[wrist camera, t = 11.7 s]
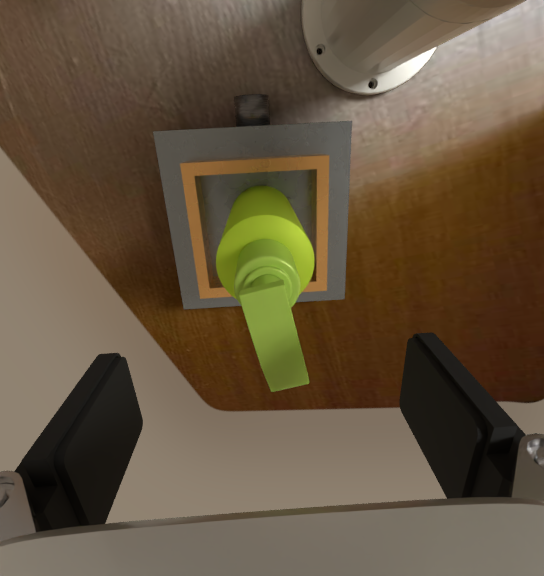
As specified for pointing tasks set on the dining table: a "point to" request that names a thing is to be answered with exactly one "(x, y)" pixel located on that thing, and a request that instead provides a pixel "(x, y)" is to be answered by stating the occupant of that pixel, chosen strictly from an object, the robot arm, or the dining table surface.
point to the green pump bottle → (268, 278)
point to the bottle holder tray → (248, 173)
